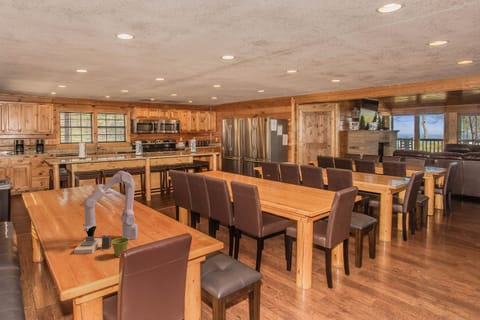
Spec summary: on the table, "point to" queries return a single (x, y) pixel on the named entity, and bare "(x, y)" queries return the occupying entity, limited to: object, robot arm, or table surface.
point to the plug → (106, 242)
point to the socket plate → (88, 247)
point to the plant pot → (119, 245)
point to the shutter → (88, 241)
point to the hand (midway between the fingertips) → (91, 238)
